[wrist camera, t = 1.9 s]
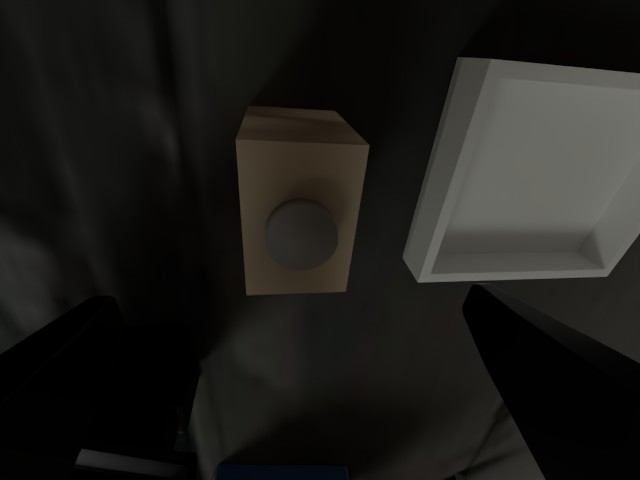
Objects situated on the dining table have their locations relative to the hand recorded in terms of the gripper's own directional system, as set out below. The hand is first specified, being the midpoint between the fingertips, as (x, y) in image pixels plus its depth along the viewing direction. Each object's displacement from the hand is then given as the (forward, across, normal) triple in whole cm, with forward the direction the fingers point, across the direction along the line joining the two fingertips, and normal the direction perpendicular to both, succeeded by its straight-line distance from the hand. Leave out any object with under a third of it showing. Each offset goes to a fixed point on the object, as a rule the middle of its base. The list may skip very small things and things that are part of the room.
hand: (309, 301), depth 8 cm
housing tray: (+9, -14, 0) cm, 17 cm away
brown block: (+10, 0, 0) cm, 10 cm away
